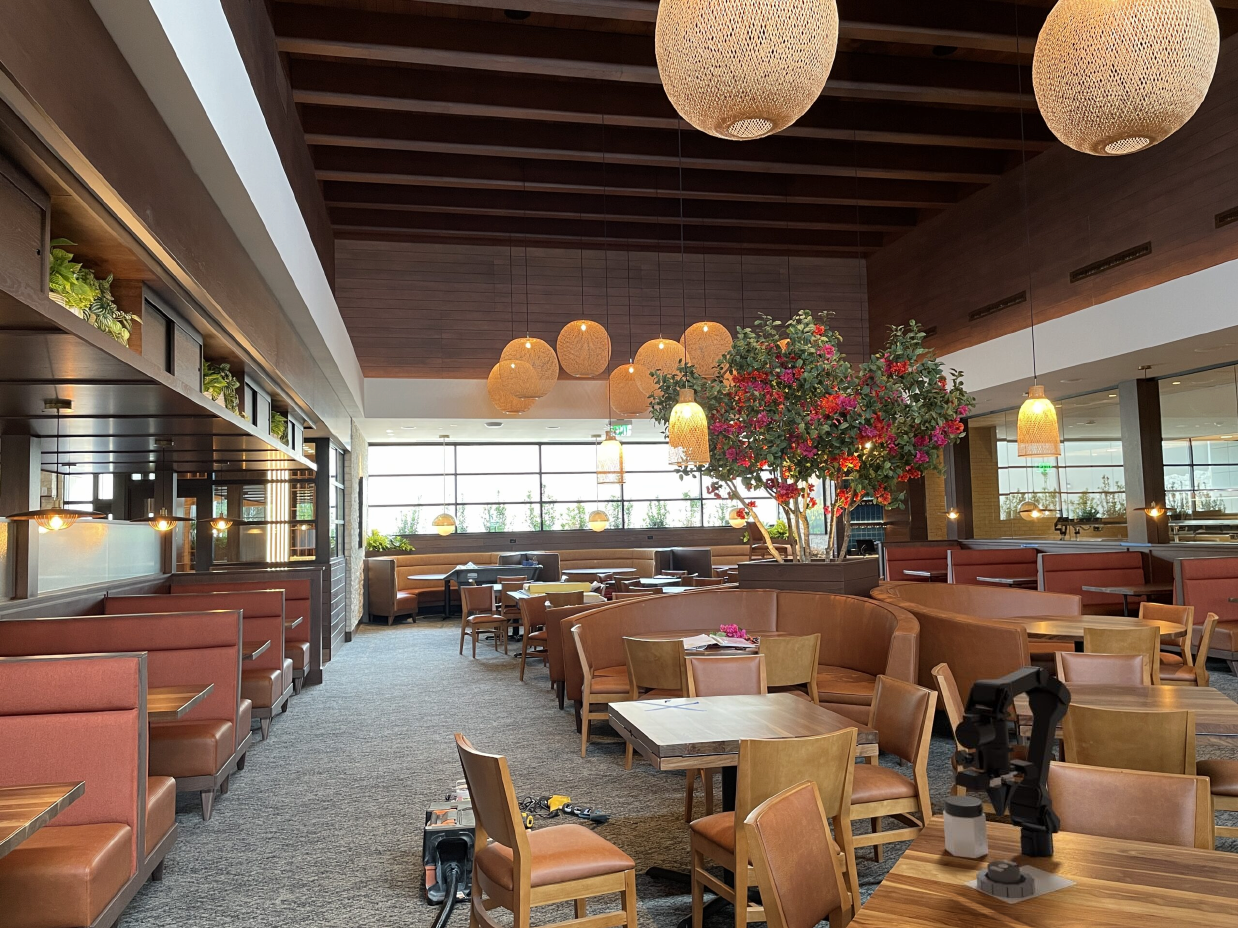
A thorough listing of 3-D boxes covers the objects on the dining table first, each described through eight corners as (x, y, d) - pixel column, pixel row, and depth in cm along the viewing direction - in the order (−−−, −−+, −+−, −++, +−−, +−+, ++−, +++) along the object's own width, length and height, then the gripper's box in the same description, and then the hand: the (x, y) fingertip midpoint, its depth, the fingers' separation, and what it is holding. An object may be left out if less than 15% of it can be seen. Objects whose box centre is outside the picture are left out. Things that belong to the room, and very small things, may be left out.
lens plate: (1028, 869, 192) (1027, 855, 192) (1078, 888, 181) (1077, 872, 181) (963, 888, 183) (962, 872, 184) (1011, 908, 172) (1010, 892, 173)
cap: (1000, 878, 185) (998, 857, 185) (1027, 886, 180) (1025, 864, 180) (983, 886, 181) (981, 865, 181) (1010, 895, 176) (1008, 873, 177)
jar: (970, 864, 196) (966, 808, 197) (939, 854, 202) (935, 800, 203) (995, 855, 200) (991, 800, 201) (963, 845, 207) (959, 792, 208)
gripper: (995, 728, 203) (1000, 799, 202) (933, 739, 195) (938, 813, 194) (1036, 737, 193) (1042, 811, 192) (973, 749, 185) (979, 827, 184)
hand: (999, 815), depth 191 cm, fingers closed
